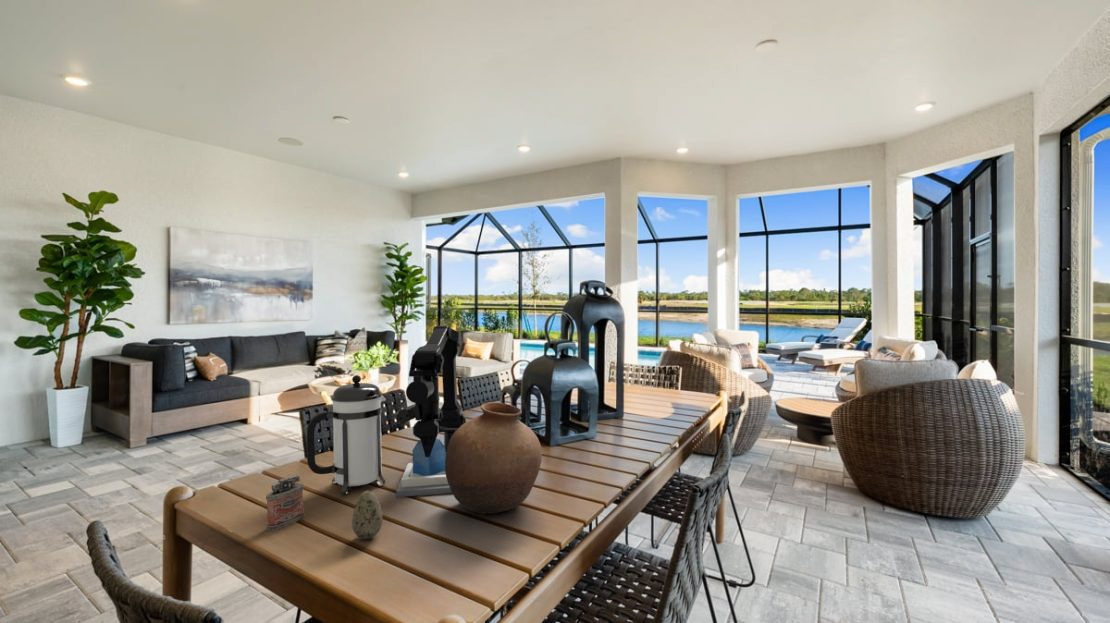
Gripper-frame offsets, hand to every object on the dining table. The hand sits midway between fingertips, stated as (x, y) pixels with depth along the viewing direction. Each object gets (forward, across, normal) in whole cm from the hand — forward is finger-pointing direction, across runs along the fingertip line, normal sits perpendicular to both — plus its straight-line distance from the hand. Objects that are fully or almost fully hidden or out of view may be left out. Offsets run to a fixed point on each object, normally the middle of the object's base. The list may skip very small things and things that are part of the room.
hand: (429, 451), depth 133 cm
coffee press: (+9, -1, -20) cm, 22 cm away
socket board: (+8, 0, 0) cm, 8 cm away
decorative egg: (+8, +30, -10) cm, 33 cm away
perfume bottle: (+6, 0, 0) cm, 6 cm away
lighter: (+8, +19, -30) cm, 37 cm away
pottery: (+9, +20, +17) cm, 28 cm away
